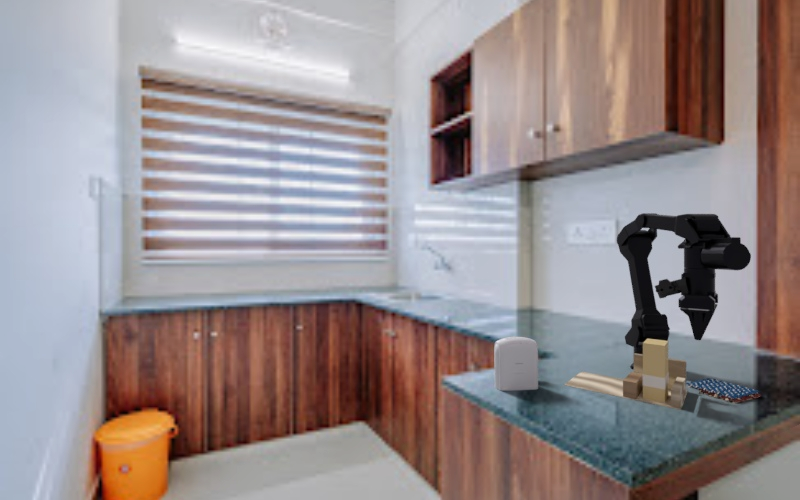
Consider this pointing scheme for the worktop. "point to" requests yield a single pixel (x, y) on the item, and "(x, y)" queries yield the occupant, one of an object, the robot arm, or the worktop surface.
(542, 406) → the worktop surface
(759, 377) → the worktop surface
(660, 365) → the tea box
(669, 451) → the worktop surface
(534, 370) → the photo printer
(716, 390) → the woven mat
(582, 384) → the wooden blocks on plank
